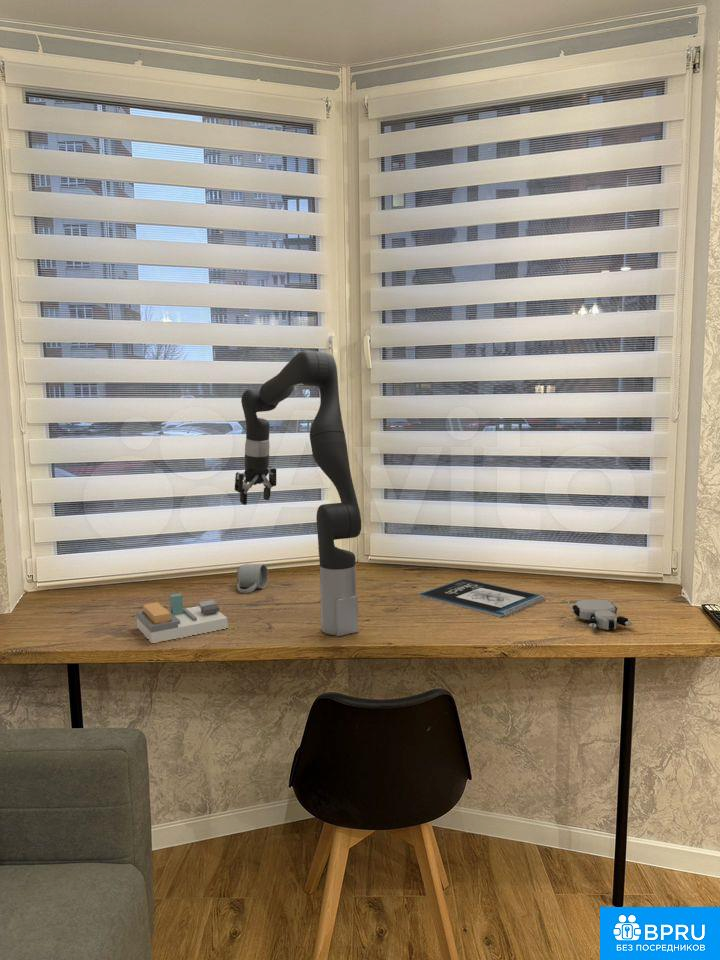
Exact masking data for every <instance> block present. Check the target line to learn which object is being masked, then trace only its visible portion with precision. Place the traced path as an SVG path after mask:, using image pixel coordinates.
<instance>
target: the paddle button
mask: <svg viewBox="0 0 720 960" xmlns="http://www.w3.org/2000/svg"><path fill="white" fill-rule="evenodd" d="M167 610H168V609H166V608H165V607H164V606H163V605H162V604H160V602H158V601H157V602H152V603H147V604H143V605H142V611H143V612H144V613H145V614H146V615H147V616H148V617H149V618H150V619H151V620H152V621H153V622H154V623H155V624H157V623H162V622H168V621H171V617H170V613H169V612H168V611H167Z"/></svg>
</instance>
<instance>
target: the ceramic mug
mask: <svg viewBox="0 0 720 960" xmlns="http://www.w3.org/2000/svg"><path fill="white" fill-rule="evenodd" d="M237 568H238V569H237V571H236V582H237V590H238V592H239V593H241V594H249V593H253V591H255V590H256V589H257V590H261V589H262V590H263V589H265V588H266V586H267V585H268V582H269V581H268V580H269V571H268V568H267V564H265V563H254V564H253V563H249V564H248V563H246V564H242V565H239V566H238V567H237Z"/></svg>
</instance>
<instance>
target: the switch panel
mask: <svg viewBox="0 0 720 960" xmlns="http://www.w3.org/2000/svg"><path fill="white" fill-rule="evenodd" d="M166 610H167V611H168V612H169V613H170V617H171V621H168V622H162V623H157V624H155V623H154V622H153V621H152V620H151V619H150V618H149V617H148V616H147V615H146V614H145V613H144V612H143V610H139V611H136V628H139V630H140V631H141V632H142V633H143V634H144V635H145V636H146V637H147V638H148V639H149V641H150V642H151V643H155V642H159V641H164V640H169V639H176V638H181V639H184V638H183V637H186V636H191V637H193V636H192V635H196V636H198V635H197V634H201V635H203V634H202V633H205V634H208V633H207V632H210V633H212V632H211V631H215V632H217V631H216V630H220V631H222V630H221V629H225V630H227V629H226V628H228V629H229V626H228V624H229V623H228V617H227V616H226V615H224V614H223V613H222V612H220V611H219V612H215V613H210V614H204V613H201V609H200V607H199V605H197V606H192V607H187V608H186V607H184V606H183V614H177V615H173V614H172V613H171V610H169V609H166ZM139 630H138V631H139ZM140 631H139V632H140ZM141 632H140V633H141ZM142 633H141V634H142ZM143 634H142V635H143ZM144 635H143V636H144ZM145 636H144V637H145ZM186 638H187V637H186ZM176 640H177V639H176ZM149 641H148V642H149ZM150 642H149V643H150ZM151 643H150V644H151Z"/></svg>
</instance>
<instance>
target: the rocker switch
mask: <svg viewBox="0 0 720 960" xmlns="http://www.w3.org/2000/svg"><path fill="white" fill-rule="evenodd" d="M198 606H199V607H200V609H201V613H204V614H210V613H215V612H220V607H219V605H218V604H217V602H216V601H215V600H214V599H208V600H203V601H199V602H198Z"/></svg>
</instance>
